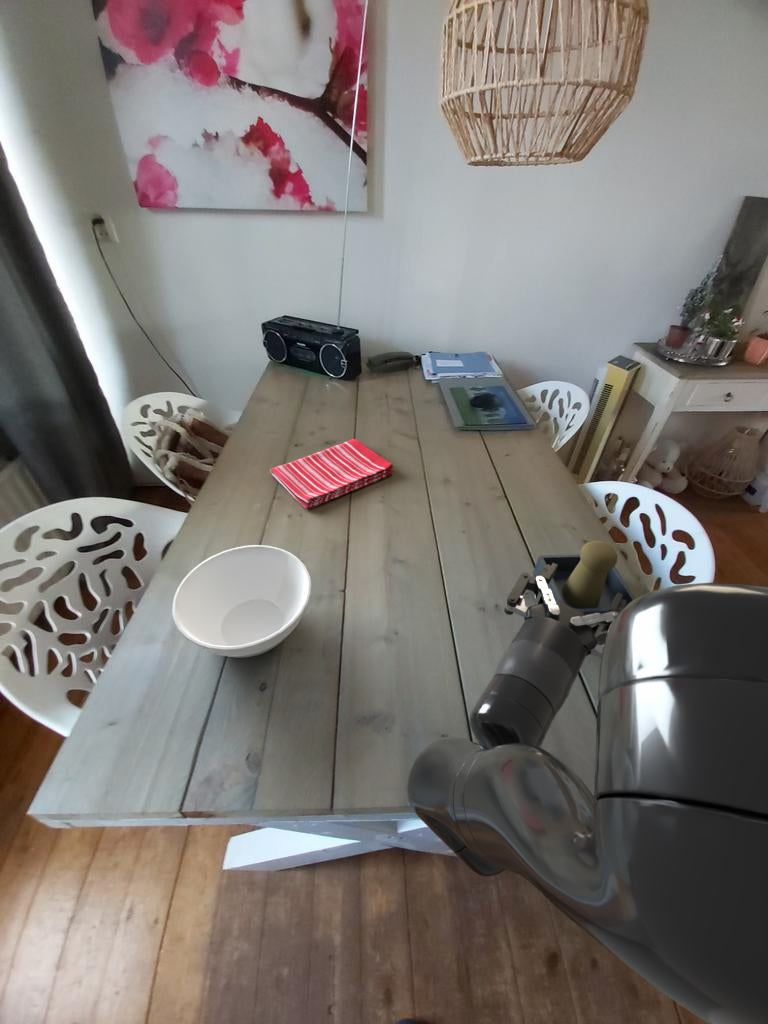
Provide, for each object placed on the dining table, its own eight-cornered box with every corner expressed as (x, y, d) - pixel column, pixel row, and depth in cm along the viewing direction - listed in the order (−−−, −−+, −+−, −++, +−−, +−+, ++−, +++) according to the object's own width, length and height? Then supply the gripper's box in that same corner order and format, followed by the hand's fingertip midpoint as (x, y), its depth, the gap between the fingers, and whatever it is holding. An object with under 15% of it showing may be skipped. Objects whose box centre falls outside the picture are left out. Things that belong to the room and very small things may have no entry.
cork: (605, 610, 72) (630, 562, 65) (568, 609, 72) (589, 562, 65) (592, 582, 76) (614, 535, 69) (557, 581, 76) (576, 534, 69)
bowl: (160, 638, 67) (142, 603, 62) (256, 563, 79) (248, 529, 74) (249, 710, 58) (237, 677, 53) (340, 613, 71) (338, 578, 66)
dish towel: (396, 474, 102) (396, 464, 100) (307, 512, 91) (306, 502, 89) (354, 443, 112) (354, 434, 111) (269, 474, 101) (268, 464, 99)
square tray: (632, 626, 70) (642, 609, 67) (557, 629, 70) (565, 612, 67) (598, 570, 80) (607, 553, 77) (533, 572, 79) (538, 555, 76)
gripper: (615, 688, 43) (653, 588, 53) (485, 615, 50) (540, 539, 60) (592, 723, 48) (630, 626, 58) (475, 653, 55) (528, 576, 65)
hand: (584, 582), depth 59 cm, fingers open, 8 cm apart
